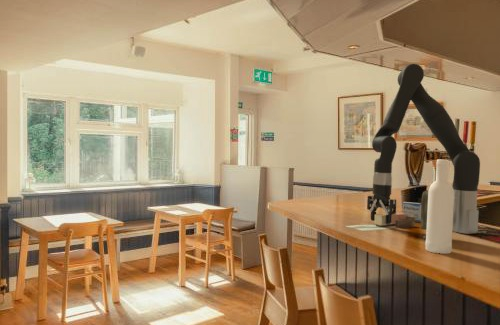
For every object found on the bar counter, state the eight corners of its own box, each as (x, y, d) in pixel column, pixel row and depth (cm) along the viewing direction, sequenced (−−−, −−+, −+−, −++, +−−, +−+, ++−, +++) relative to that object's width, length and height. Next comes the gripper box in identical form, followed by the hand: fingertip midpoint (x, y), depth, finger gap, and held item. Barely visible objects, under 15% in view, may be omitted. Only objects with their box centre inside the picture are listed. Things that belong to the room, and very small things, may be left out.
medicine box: (401, 220, 197) (402, 202, 197) (403, 219, 201) (403, 201, 201) (419, 222, 193) (420, 203, 193) (420, 221, 197) (421, 202, 197)
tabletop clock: (427, 234, 166) (430, 170, 165) (452, 237, 161) (456, 172, 160) (419, 240, 154) (422, 172, 153) (446, 244, 149) (450, 173, 148)
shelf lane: (416, 227, 181) (416, 217, 180) (363, 232, 166) (364, 220, 166) (396, 222, 190) (396, 213, 190) (344, 226, 176) (345, 216, 176)
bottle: (422, 251, 137) (427, 159, 136) (427, 246, 144) (432, 158, 143) (449, 255, 133) (454, 160, 132) (453, 250, 139) (458, 160, 138)
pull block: (405, 225, 182) (406, 214, 182) (382, 227, 175) (382, 215, 175) (396, 223, 186) (397, 212, 186) (373, 225, 179) (373, 213, 179)
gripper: (402, 184, 173) (400, 224, 173) (376, 181, 185) (374, 218, 186) (388, 185, 169) (386, 225, 170) (363, 182, 182) (361, 219, 182)
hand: (380, 222), depth 178 cm, fingers open, 7 cm apart
